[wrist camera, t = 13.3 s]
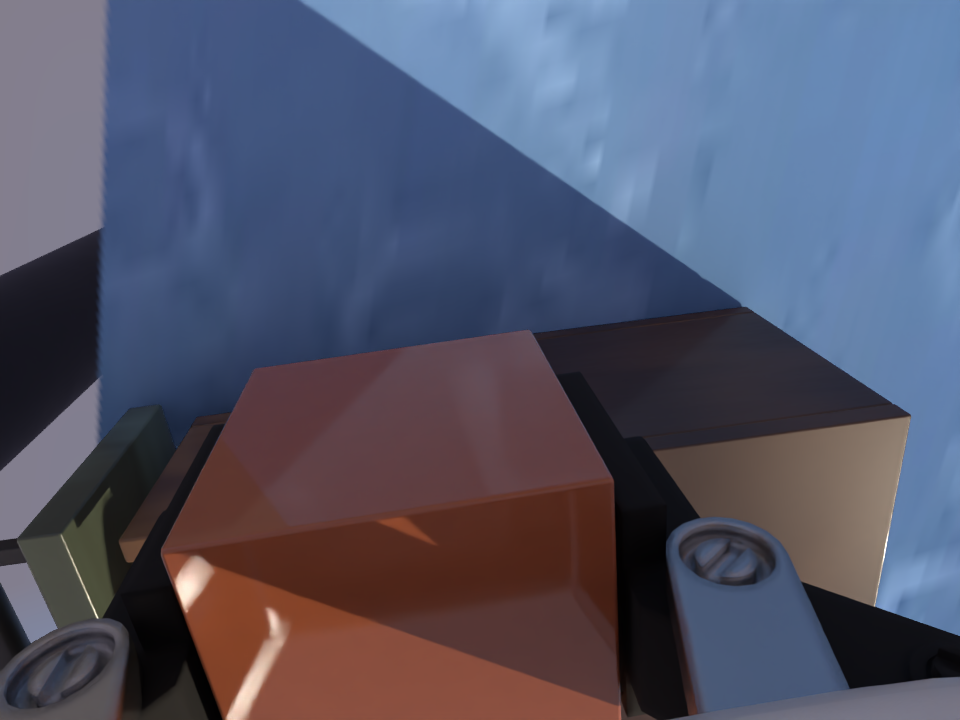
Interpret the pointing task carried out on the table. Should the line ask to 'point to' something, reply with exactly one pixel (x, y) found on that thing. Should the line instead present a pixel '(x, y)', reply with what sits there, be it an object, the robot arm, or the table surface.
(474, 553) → the block
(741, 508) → the cabinet
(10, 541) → the drawer
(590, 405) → the robot arm
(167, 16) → the table surface
